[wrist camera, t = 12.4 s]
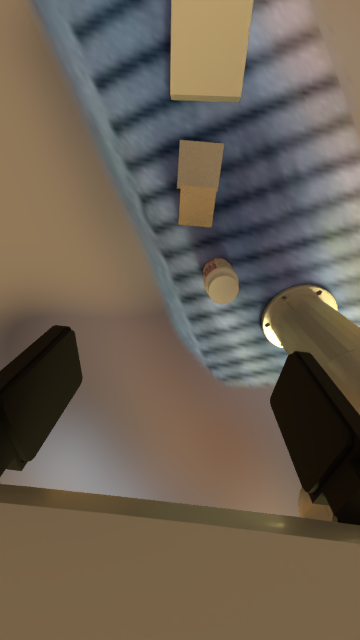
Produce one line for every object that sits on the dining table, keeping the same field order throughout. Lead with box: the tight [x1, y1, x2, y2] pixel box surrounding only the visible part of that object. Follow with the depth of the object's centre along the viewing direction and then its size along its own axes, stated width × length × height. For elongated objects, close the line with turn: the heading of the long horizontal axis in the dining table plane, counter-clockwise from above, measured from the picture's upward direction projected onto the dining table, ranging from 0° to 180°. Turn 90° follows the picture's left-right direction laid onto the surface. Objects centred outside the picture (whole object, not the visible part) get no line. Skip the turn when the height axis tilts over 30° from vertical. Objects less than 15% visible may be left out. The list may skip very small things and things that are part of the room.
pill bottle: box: [203, 258, 239, 304], centre depth 31 cm, size 5×5×8 cm
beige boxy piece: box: [177, 140, 224, 227], centre depth 26 cm, size 9×6×7 cm, turn 176°
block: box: [170, 0, 253, 102], centre depth 23 cm, size 2×8×7 cm
